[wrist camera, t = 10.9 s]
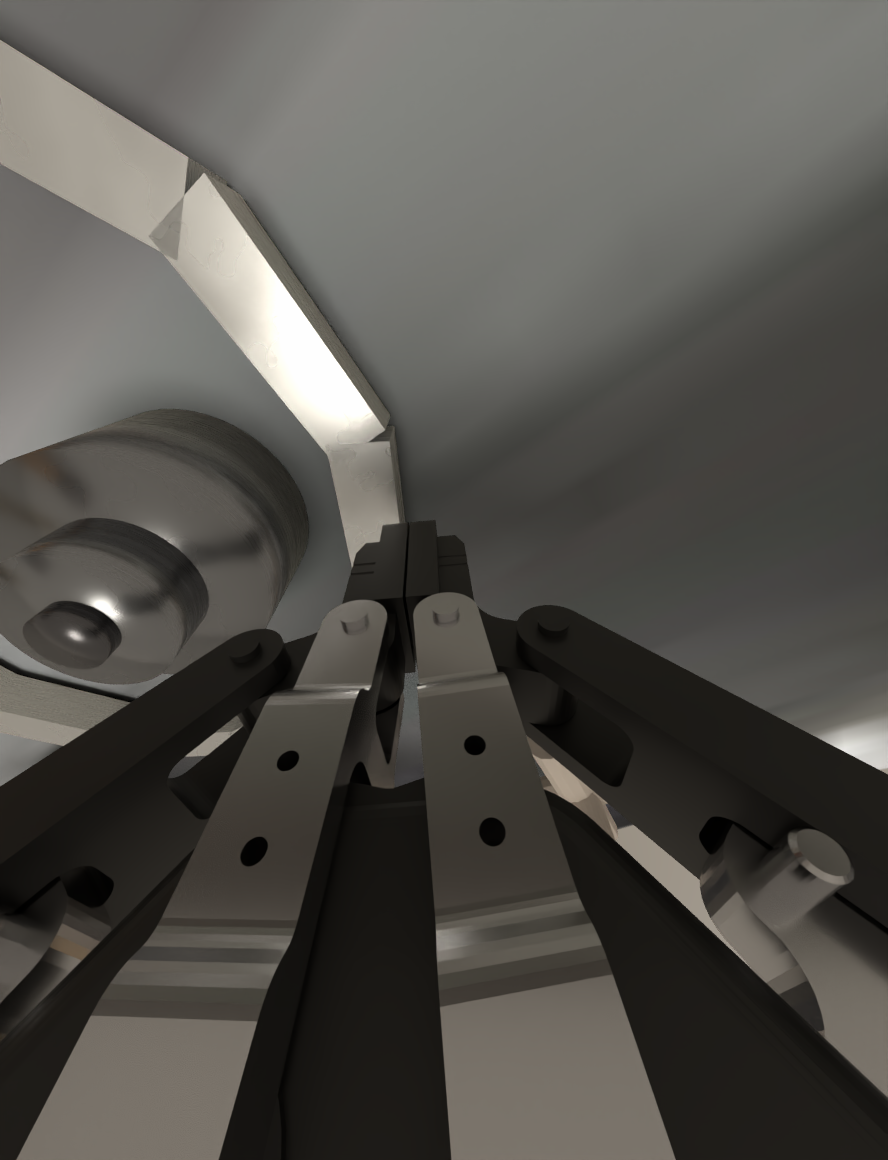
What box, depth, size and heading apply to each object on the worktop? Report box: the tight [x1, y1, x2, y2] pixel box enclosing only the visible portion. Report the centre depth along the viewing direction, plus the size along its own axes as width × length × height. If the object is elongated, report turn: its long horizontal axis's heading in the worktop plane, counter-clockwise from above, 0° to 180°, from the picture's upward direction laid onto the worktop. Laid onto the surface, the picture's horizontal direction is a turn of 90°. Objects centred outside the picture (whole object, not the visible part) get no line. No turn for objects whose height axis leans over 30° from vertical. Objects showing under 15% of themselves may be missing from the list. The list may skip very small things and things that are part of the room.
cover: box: [0, 409, 309, 684], centre depth 13 cm, size 8×8×8 cm
